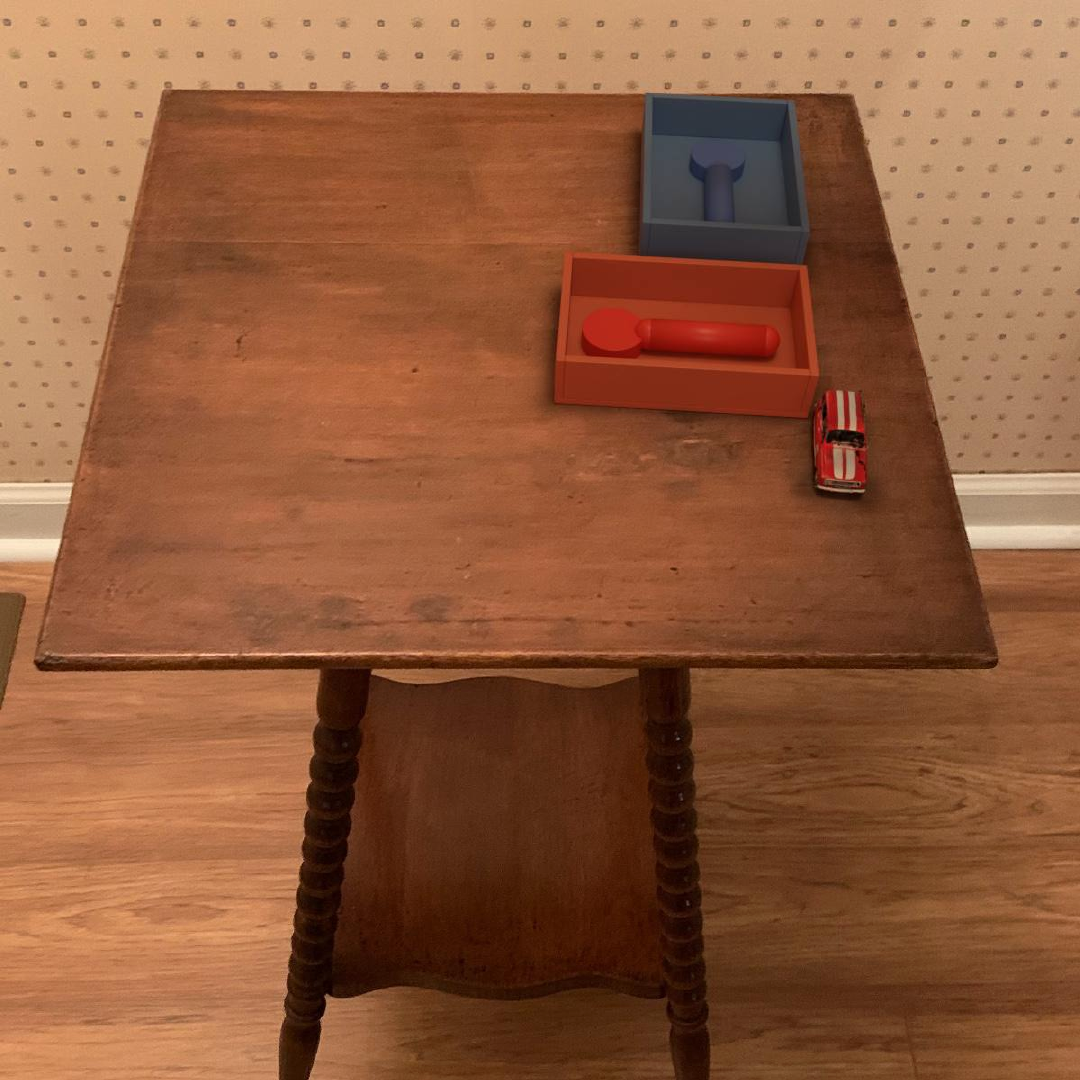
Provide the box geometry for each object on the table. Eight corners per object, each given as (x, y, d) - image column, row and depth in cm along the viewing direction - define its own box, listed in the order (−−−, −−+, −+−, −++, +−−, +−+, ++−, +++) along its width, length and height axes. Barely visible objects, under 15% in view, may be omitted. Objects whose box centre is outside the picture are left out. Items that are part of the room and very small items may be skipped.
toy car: (811, 496, 76) (822, 463, 74) (809, 407, 81) (818, 373, 79) (868, 502, 76) (880, 468, 73) (862, 412, 81) (873, 378, 78)
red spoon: (775, 332, 85) (780, 308, 83) (778, 375, 82) (784, 351, 81) (582, 321, 85) (584, 297, 84) (579, 363, 83) (581, 339, 81)
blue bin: (785, 142, 100) (794, 99, 97) (799, 275, 90) (810, 231, 87) (641, 135, 101) (645, 92, 97) (638, 266, 90) (642, 222, 87)
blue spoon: (748, 261, 90) (752, 238, 88) (689, 258, 90) (693, 234, 88) (742, 154, 98) (746, 131, 97) (689, 151, 98) (692, 128, 97)
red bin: (796, 308, 87) (807, 264, 84) (807, 418, 80) (819, 375, 77) (563, 294, 88) (564, 251, 85) (554, 403, 81) (555, 360, 78)
